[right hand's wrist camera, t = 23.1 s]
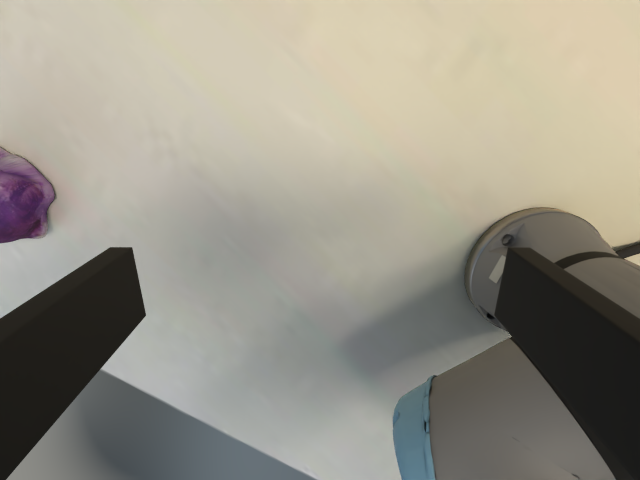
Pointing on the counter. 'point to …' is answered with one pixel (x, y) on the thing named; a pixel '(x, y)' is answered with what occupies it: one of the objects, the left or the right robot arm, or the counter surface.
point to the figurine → (22, 199)
